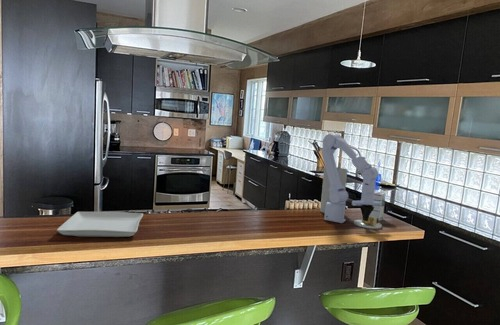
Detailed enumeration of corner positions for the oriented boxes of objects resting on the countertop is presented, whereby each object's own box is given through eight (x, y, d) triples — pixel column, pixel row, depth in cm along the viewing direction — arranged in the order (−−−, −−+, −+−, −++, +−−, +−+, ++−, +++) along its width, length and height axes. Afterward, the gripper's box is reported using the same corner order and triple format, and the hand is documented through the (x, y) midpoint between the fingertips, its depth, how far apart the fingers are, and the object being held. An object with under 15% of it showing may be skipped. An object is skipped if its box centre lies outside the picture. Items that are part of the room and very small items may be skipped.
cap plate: (351, 225, 171) (351, 218, 171) (357, 220, 182) (357, 213, 182) (379, 231, 165) (380, 223, 164) (383, 225, 176) (384, 218, 176)
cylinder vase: (339, 216, 188) (343, 170, 186) (316, 212, 194) (321, 167, 192) (345, 212, 199) (350, 169, 196) (324, 208, 205) (328, 166, 203)
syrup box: (379, 221, 185) (382, 194, 183) (368, 218, 188) (371, 192, 187) (383, 219, 189) (386, 192, 188) (372, 217, 193) (374, 191, 191)
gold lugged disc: (359, 223, 170) (360, 215, 170) (362, 220, 177) (363, 212, 177) (375, 226, 167) (376, 218, 166) (378, 223, 174) (379, 215, 174)
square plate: (55, 240, 123) (55, 229, 123) (77, 219, 150) (77, 210, 149) (135, 240, 128) (136, 230, 128) (143, 220, 155) (143, 212, 155)
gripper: (358, 193, 163) (355, 222, 164) (386, 194, 165) (383, 222, 167) (351, 190, 169) (348, 218, 171) (378, 191, 172) (375, 219, 173)
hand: (365, 220), depth 169 cm, fingers closed
